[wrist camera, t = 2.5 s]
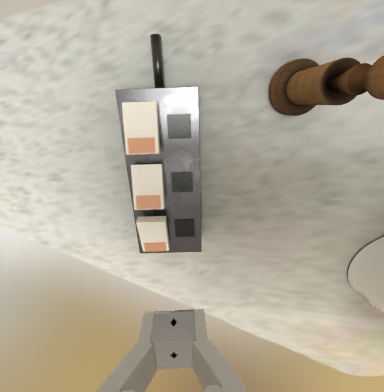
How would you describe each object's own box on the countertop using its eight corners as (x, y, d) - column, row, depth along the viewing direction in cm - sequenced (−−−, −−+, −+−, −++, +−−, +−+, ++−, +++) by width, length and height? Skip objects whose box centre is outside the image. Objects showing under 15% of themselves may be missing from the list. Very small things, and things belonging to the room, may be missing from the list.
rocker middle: (162, 163, 30) (161, 164, 29) (164, 207, 31) (163, 209, 30) (133, 164, 30) (130, 164, 29) (136, 208, 31) (133, 210, 30)
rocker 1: (157, 103, 27) (155, 100, 26) (160, 153, 28) (158, 153, 27) (124, 104, 27) (121, 102, 26) (128, 154, 28) (125, 154, 27)
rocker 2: (165, 215, 32) (164, 222, 30) (169, 244, 35) (169, 251, 34) (137, 216, 32) (135, 223, 30) (144, 245, 35) (142, 252, 34)
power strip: (196, 36, 28) (196, 23, 24) (200, 237, 40) (201, 254, 35) (117, 39, 28) (103, 27, 24) (144, 239, 40) (138, 256, 35)
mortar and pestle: (264, 71, 30) (356, 29, 13) (313, 53, 29) (479, -14, 12) (272, 121, 32) (360, 140, 15) (318, 106, 31) (462, 110, 15)
